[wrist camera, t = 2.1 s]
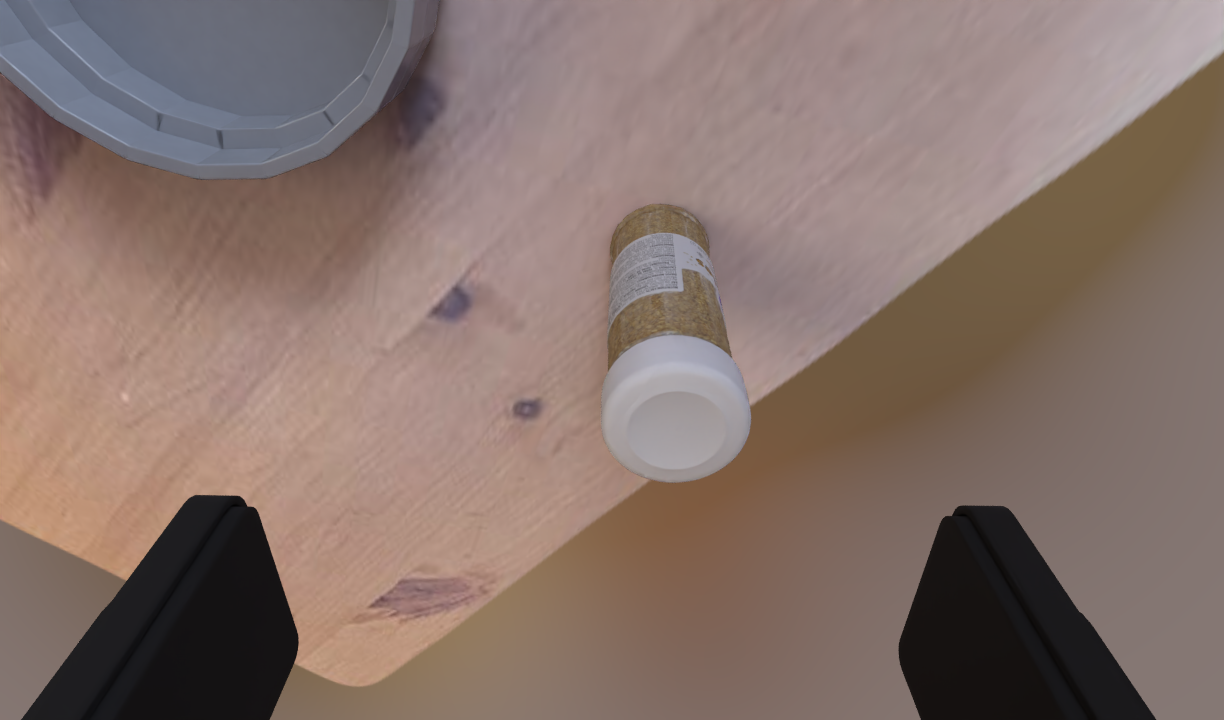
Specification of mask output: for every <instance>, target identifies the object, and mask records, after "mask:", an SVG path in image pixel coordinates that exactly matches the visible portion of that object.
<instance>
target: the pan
mask: <svg viewBox="0 0 1224 720" xmlns="http://www.w3.org/2000/svg"><path fill="white" fill-rule="evenodd" d="M438 6H439V0H0V73H1V74H2V75H4V76H5V77H6V78H7V79H8V80H9V81H10V82H12V83H13V84H14V85H15V86H16V87H17V88H18V89H20V90H21V91H22V92H23V93H24V94H25V95H26V96H28V97H29V98H30V99H31V100H32V101H33V102H34V103H36V104H37V105H38V106H39V107H40V108H41V109H43V110H44V111H45V112H46V113H47V114H48V115H49V116H51V117H52V118H54V119H55V120H56V121H58V122H60V123H62V124H64V125H65V126H67V127H69V128H71V129H72V130H74V131H76V132H78V133H80V134H81V135H83V136H85V137H87V138H89V139H90V140H92V141H94V142H96V143H98V144H99V145H101V146H103V147H105V148H107V149H108V150H110V151H112V152H114V153H116V154H117V155H119V156H121V157H123V158H124V159H127V160H129V161H133V162H136V163H140V164H144V165H147V166H151V167H155V168H158V169H162V170H165V171H169V172H173V173H176V174H180V175H183V176H187V177H191V178H194V179H200V180H226V179H267V178H272V177H275V176H277V175H280V174H283V173H285V172H288V171H291V170H294V169H296V168H299V167H302V166H304V165H307V164H310V163H313V162H315V161H318V160H321V159H323V158H326V157H327V156H330V155H331V154H332V153H333V152H334V151H335V150H337V149H338V148H339V147H340V146H341V145H342V144H343V143H345V142H346V141H347V140H348V139H349V138H350V137H351V136H353V135H354V134H355V133H356V132H357V131H358V130H359V129H361V128H362V127H363V126H364V125H365V124H366V123H367V122H368V121H370V120H371V119H372V118H373V117H374V116H375V115H376V114H377V113H378V112H380V111H381V110H382V109H383V108H384V107H385V106H386V105H387V104H388V103H390V102H391V101H392V100H393V99H394V98H395V97H396V96H397V95H398V94H400V93H401V92H402V91H403V90H404V88H405V87H406V86H407V84H408V82H409V80H410V78H411V76H412V74H413V72H414V70H415V68H416V66H417V64H418V62H419V60H420V58H421V56H422V54H423V53H424V51H425V49H426V47H427V45H428V43H429V41H430V39H431V37H432V35H433V33H434V30H435V26H436V19H437V13H438Z"/></svg>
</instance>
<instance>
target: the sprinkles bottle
mask: <svg viewBox="0 0 1224 720" xmlns="http://www.w3.org/2000/svg"><path fill="white" fill-rule="evenodd" d="M610 257H611V262H612V270H611V275H610V290H609V310H608V331H607V347H608V373H607V375H606V378H605V380H604V383H603V387H602V395H601V429H602V434H603V438H604V441H605V443H606V445H607V447H608V449H609V451H610V452H611V454H612V455H613V456H614V458H615V459H616V460H617V461H618V462H619V463H620V464H621V465H623V466H624V467H625V468H627V469H628V470H630V471H631V472H633V473H635V474H637V475H639V476H641V477H644V478H647V479H651V480H655V481H660V482H671V483H676V482H687V481H693V480H697V479H701V478H703V477H706V476H709V475H711V474H713V473H715V472H717V471H718V470H720V469H722V468H723V467H725V466H726V465H728V464H729V463H730V462H731V461H732V460H733V459H734V458H735V457H736V456H737V455H738V454H739V452H740V451H741V449H742V448H743V446H744V444H745V442H746V440H747V437H748V435H749V431H750V425H751V412H750V406H749V401H748V396H747V392H746V388H745V384H744V380H743V377H742V375H741V372H740V370H739V368H738V366H737V365H736V363H735V362H734V361H733V359H732V356H731V351H730V346H729V341H728V338H727V332H726V324H725V318H724V313H723V309H722V304H721V300H720V295H719V291H718V287H717V282H716V278H715V273H714V268H713V265H712V263H711V260H710V257H709V241H708V238H707V234H706V232H705V230H704V228H703V226H702V225H701V224H700V222H699V221H698V220H697V219H696V218H695V217H694V216H693V215H692V214H691V213H689V212H687V211H685V210H684V209H682V208H680V207H674V206H671V205H663V204H650V205H647V206H645V207H643V208H640V209H637V210H635V211H634V212H632V213H630V214H629V215H627V216H626V217H625V218H624V219H623V220H622V222H621V223H620V224H619V225H618V226H617V229H616V231H615V232H614V234H613V237H612V241H611V245H610Z"/></svg>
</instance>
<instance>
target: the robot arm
mask: <svg viewBox="0 0 1224 720" xmlns="http://www.w3.org/2000/svg"><path fill="white" fill-rule="evenodd" d="M298 644H299V642H298V633H297V629H296V626H295V623H294V620H293V617H292V614H291V611H290V608H289V605H288V602H287V599H286V596H285V593H284V590H283V587H282V584H281V581H280V578H279V574H278V571H277V568H276V565H275V562H274V559H273V556H272V553H271V550H270V547H269V544H268V541H267V538H266V535H265V532H264V529H263V526H262V523H261V520H260V517H259V514H258V512H257V510H256V509H255V508H254V507H247V505H246V503H245V501H244V499H243V498H241V497H240V496H217V495H195V496H193V497H191V498H189V499H188V500H187V501H186V502H185V503H184V504H183V506H182V507H181V508H180V510H179V511H178V513H177V514H176V515H175V517H174V518H173V519H172V521H171V522H170V523H169V525H168V526H167V527H166V529H165V530H164V531H163V533H162V534H161V535H160V537H159V538H158V540H157V541H156V542H155V544H154V545H153V546H152V548H151V549H150V550H149V552H148V553H147V554H146V556H145V557H144V558H143V560H142V561H141V562H140V564H139V565H138V566H137V568H136V569H135V571H134V572H133V573H132V575H131V576H130V577H129V579H128V580H127V581H126V583H125V584H124V585H123V587H122V588H121V590H120V591H119V592H118V593H117V595H116V596H115V598H114V599H113V600H112V601H111V602H110V604H109V605H108V606H107V607H106V608H105V609H104V610H103V611H102V612H101V613H100V615H99V616H98V617H97V619H96V620H95V621H94V623H93V624H92V625H91V627H90V628H89V630H88V631H87V632H86V633H85V635H84V636H83V638H82V639H81V640H80V641H79V643H78V644H77V646H76V647H75V648H74V650H73V651H72V652H71V654H70V655H69V656H68V658H67V659H66V660H65V662H64V663H63V664H62V666H61V667H60V668H59V670H58V671H57V672H56V674H55V675H54V676H53V678H52V679H51V680H50V682H49V683H48V684H47V686H46V687H45V688H44V690H43V691H42V693H41V694H40V695H39V697H38V698H37V699H36V701H35V702H34V703H33V705H32V706H31V707H30V709H29V710H28V712H27V713H26V714H25V715H24V717H23V718H22V719H21V720H270V717H271V715H272V713H273V711H274V708H275V706H276V703H277V701H278V699H279V697H280V694H281V692H282V690H283V687H284V685H285V682H286V680H287V678H288V676H289V674H290V671H291V669H292V667H293V664H294V662H295V659H296V656H297V651H298ZM899 660H900V665H901V668H902V671H903V674H904V676H905V679H906V682H907V684H908V687H909V689H910V692H911V695H912V697H913V700H914V702H915V705H916V708H917V710H918V713H919V716H920V718H921V720H1156V719H1155V717H1154V716H1153V714H1152V713H1151V711H1150V710H1149V708H1148V707H1147V705H1146V704H1145V702H1144V701H1143V700H1142V698H1141V697H1140V695H1139V694H1138V692H1137V691H1136V689H1135V688H1134V686H1133V685H1132V684H1131V682H1130V680H1129V679H1128V677H1127V676H1126V675H1125V673H1124V672H1123V670H1122V669H1121V667H1120V666H1119V664H1118V663H1117V661H1116V660H1115V658H1114V657H1113V655H1112V654H1111V652H1110V651H1109V649H1108V648H1107V646H1106V645H1105V644H1104V642H1103V641H1102V639H1101V638H1100V636H1099V635H1098V633H1097V632H1096V630H1095V629H1094V627H1093V626H1092V625H1091V623H1090V622H1089V621H1088V620H1087V619H1086V618H1085V616H1084V615H1083V614H1082V613H1080V612H1079V611H1078V609H1077V608H1076V606H1075V605H1074V604H1073V602H1072V601H1071V599H1070V598H1069V596H1068V595H1067V593H1066V592H1065V590H1064V589H1063V587H1062V586H1061V584H1060V583H1059V581H1058V580H1057V578H1056V577H1055V575H1054V574H1053V572H1052V571H1051V569H1050V568H1049V566H1048V565H1047V563H1046V562H1045V560H1044V559H1043V557H1042V556H1041V555H1040V553H1039V552H1038V550H1037V549H1036V547H1035V546H1034V544H1033V543H1032V541H1031V540H1030V538H1029V537H1028V535H1027V534H1026V533H1025V531H1024V529H1023V528H1022V526H1021V525H1020V523H1019V522H1018V520H1017V519H1016V517H1015V516H1014V515H1013V513H1012V512H1011V511H1010V510H1009V509H1008V508H1006V507H1004V506H959V507H957V509H955V511H954V513H953V515H952V516H945V517H944V518H943V519H942V521H941V523H940V525H939V528H938V531H937V534H936V537H935V540H934V543H933V546H932V549H931V551H930V555H929V557H928V560H927V563H926V566H925V569H924V572H923V575H922V578H921V581H920V583H919V586H918V589H917V592H916V595H915V598H914V601H913V603H912V606H911V609H910V612H909V615H908V618H907V621H906V624H905V626H904V630H903V632H902V635H901V638H900V642H899Z"/></svg>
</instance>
